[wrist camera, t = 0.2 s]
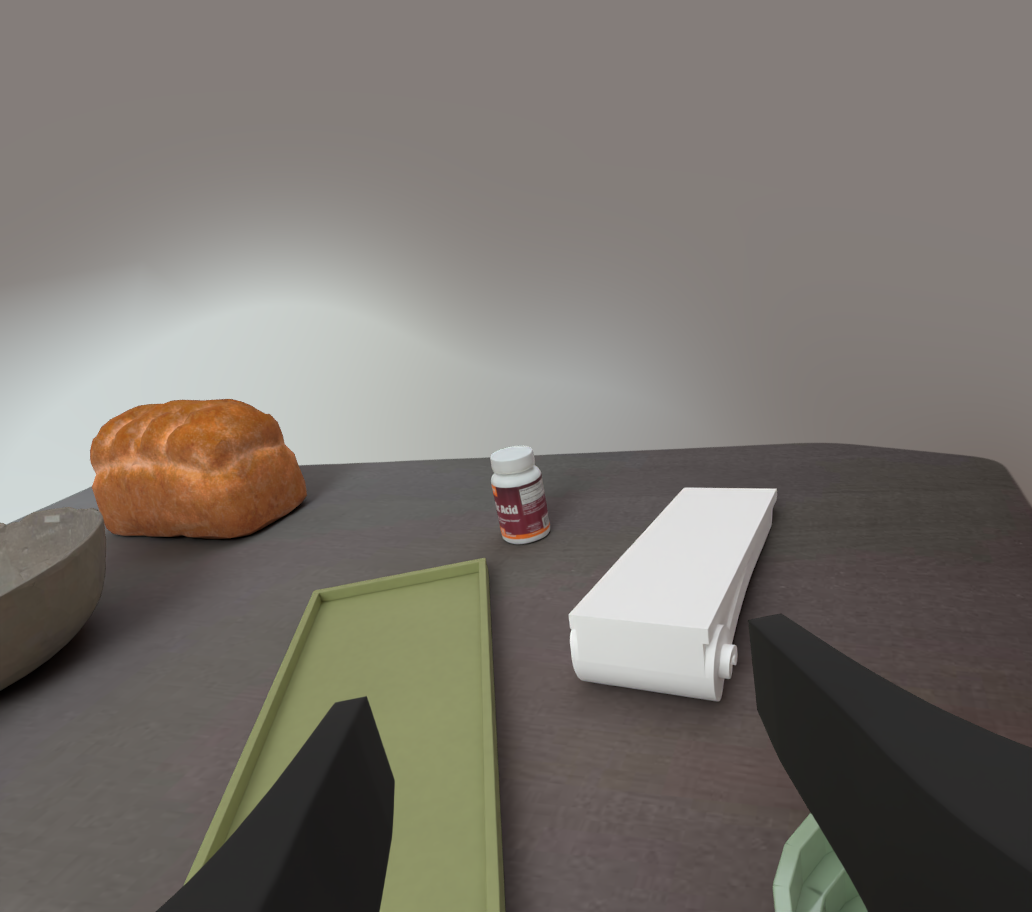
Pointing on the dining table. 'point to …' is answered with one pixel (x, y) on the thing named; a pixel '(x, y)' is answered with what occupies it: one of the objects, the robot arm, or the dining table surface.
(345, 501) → the dining table surface
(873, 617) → the dining table surface
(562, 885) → the dining table surface
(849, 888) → the shallow round dish
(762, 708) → the robot arm
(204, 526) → the bread
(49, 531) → the bowl
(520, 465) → the pill bottle
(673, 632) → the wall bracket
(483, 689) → the serving tray
